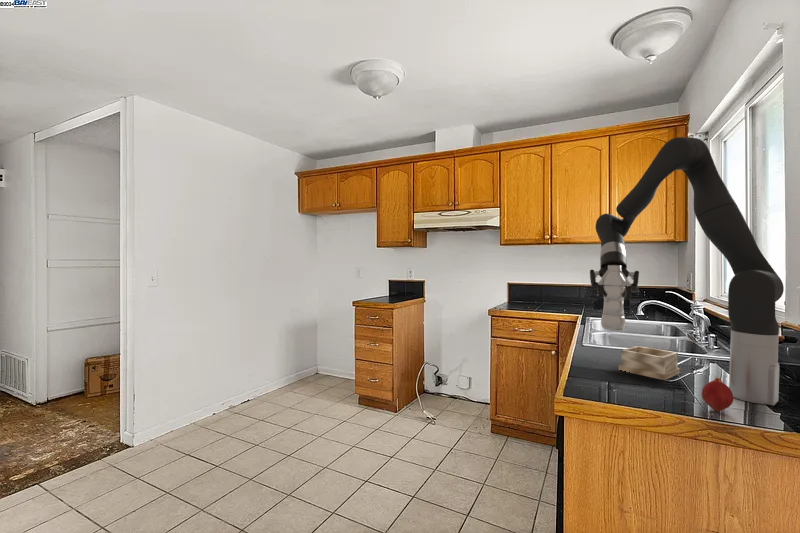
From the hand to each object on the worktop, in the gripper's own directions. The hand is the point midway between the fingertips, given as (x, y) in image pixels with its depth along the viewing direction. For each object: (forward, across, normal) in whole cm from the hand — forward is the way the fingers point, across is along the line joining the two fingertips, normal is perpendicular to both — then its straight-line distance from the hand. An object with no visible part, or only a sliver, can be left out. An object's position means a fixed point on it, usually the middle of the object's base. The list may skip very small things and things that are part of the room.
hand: (614, 297), depth 119 cm
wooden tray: (+8, +11, +26) cm, 29 cm away
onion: (+31, +21, +3) cm, 38 cm away
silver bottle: (+6, 0, +9) cm, 11 cm away
